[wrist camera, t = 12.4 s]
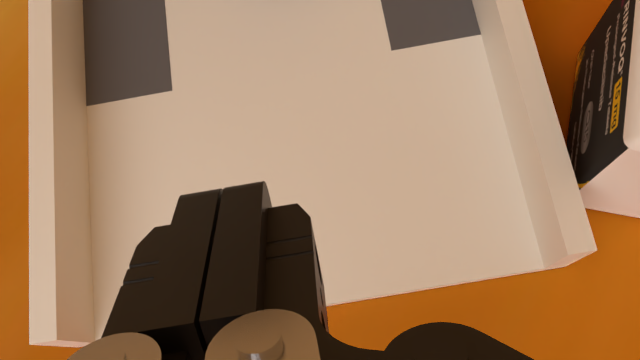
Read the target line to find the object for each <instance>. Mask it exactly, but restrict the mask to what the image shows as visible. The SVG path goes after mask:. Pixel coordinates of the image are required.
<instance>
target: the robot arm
mask: <svg viewBox="0 0 640 360" xmlns="http://www.w3.org/2000/svg"><path fill="white" fill-rule="evenodd" d="M67 360H534V359H532V358H530V357H528V356H526V355H524V354H522V353H520V352H518V351H517V350H515V349H513V348H511V347H509V346H507V345H505V344H503V343H501V342H499V341H497V340H496V339H494V338H492V337H490V336H488V335H486V334H484V333H482V332H480V331H478V330H476V329H474V328H471V327H468V326H465V325H462V324H456V323H447V322H437V323H428V324H423V325H419V326H416V327H413V328H411V329H409V330H407V331H405V332H403V333H401V334H400V335H398V336H397V337H396V338H395V339H393V340H392V341H391V342H390V343H389V345H388V346H387V348H386V349H385V351H378V350H368V349H362V348H357V347H353V346H350V345H347V344H345V343H342V342H340V341H339V340H337V339H335V338H334V337H332V336H331V335H330V334H329V330H328V320H327V310H326V301H325V291H324V283H323V278H322V273H321V268H320V263H319V258H318V253H317V248H316V242H315V237H314V232H313V227H312V222H311V217H310V216H309V215H308V214H307V213H306V212H305V211H304V209H303V208H302V207H301V206H300V205H299V204H298V203H295V204H289V205H283V206H277V207H272V204H271V200H270V195H269V191H268V188H267V185H266V182H265V181H261V182H255V183H249V184H243V185H237V186H231V187H225V188H224V189H221V188H220V189H214V190H208V191H202V192H196V193H190V194H184V195H180V196H179V199H178V202H177V205H176V208H175V211H174V215H173V218H172V221H171V224H170V225H164V226H158V227H154V228H153V229H152V230H151V231H150V232H149V233H148V234H147V235H146V237H145V238H144V239H143V240H142V241H141V242H140V243H139V244H138V245H137V246H136V248H135V251H134V254H133V256H132V259H131V261H130V264H129V269H127V272H126V274H125V277H124V280H123V286H121V287H120V290H119V293H118V295H117V298H116V300H115V303H114V306H113V308H112V311H111V313H110V316H109V319H108V321H107V324H106V326H105V329H104V332H103V334H102V337H101V339H98V340H96V341H94V342H92V343H90V344H88V345H86V346H84V347H83V348H81V349H80V350H78V351H77V352H75V353H74V354H73V355H72V356H70V357H69V358H68V359H67Z"/></svg>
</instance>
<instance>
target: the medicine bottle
mask: <svg viewBox="0 0 640 360" xmlns="http://www.w3.org/2000/svg"><path fill="white" fill-rule="evenodd" d="M567 151H568V154H569V157H570V161H571V164H572V167H573V171H574V174H575V177H576V180H577V184H578V187H579V190H580V194H581V197H582V200H583V204H584V207H585V208H588V209H593V210H598V211H604V212H609V213H614V214H620V215H625V216H630V217H636V218H640V0H613V1H612V2H611V4H610V6H609V7H608V9H607V10H606V12H605V13H604V15H603V16H602V18H601V19H600V21H599V22H598V24H597V25H596V27H595V29H594V30H593V32H592V33H591V35H590V36H589V38H588V39H587V41H586V42H585V44H584V45H583V47H582V48H581V50H580V52H579V54H578V56H577V64H576V72H575V81H574V89H573V97H572V106H571V114H570V122H569V131H568V139H567Z"/></svg>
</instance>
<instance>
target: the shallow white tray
mask: <svg viewBox="0 0 640 360" xmlns="http://www.w3.org/2000/svg"><path fill="white" fill-rule="evenodd" d="M472 3H473V6H474V10H475V14H476V17H477V21H478V25H479V28H480V32H481V35H475V36H470V37H464V38H459V39H453V40H448V41H442V42H437V43H431V44H426V45H420V46H415V47H409V48H404V49H398V50H393V51H391V46H390V41H389V37H388V32H387V27H386V23H385V18H384V13H383V9H382V4H381V0H165V9H166V21H167V33H168V44H169V56H170V68H171V80H172V91H168V92H162V93H157V94H151V95H146V96H140V97H135V98H129V99H124V100H118V101H113V102H107V103H102V104H96V105H91V106H86V82H85V53H84V25H83V0H28V21H29V345H45V346H62V347H83V346H86V345H88V344H90V343H92V342H94V341H96V340H98V339H101V337H102V334H103V332H104V329H105V326H106V324H107V321H108V319H109V316H110V313H111V311H112V308H113V306H114V303H115V300H116V298H117V295H118V293H119V290H120V287H121V286H123V280H124V277H125V274H126V272H127V269H129V264H130V261H131V259H132V256H133V254H134V251H135V248H136V246H137V245H138V244H139V243H140V242H141V241H142V240H143V239H144V238H145V237H146V235H147V234H148V233H149V232H150V231H151V230H152V229H153V228H154V227H158V226H164V225H170V224H171V221H172V218H173V215H174V211H175V208H176V205H177V202H178V199H179V196H180V195H184V194H190V193H196V192H202V191H208V190H214V189H220V188H221V189H224V188H225V187H231V186H237V185H243V184H249V183H255V182H261V181H265V182H266V185H267V188H268V191H269V195H270V200H271V204H272V207H277V206H283V205H289V204H295V203H298V204H299V205H300V206H301V207H302V208H303V209H304V211H305V212H306V213H307V214H308V215H309V216H310V217H311V222H312V227H313V232H314V237H315V242H316V248H317V253H318V258H319V263H320V268H321V273H322V278H323V283H324V291H325V301H326V306H331V305H337V304H343V303H349V302H355V301H361V300H367V299H373V298H379V297H385V296H391V295H397V294H403V293H409V292H415V291H421V290H427V289H433V288H439V287H446V286H452V285H458V284H464V283H470V282H476V281H482V280H488V279H494V278H500V277H506V276H512V275H518V274H524V273H530V272H536V271H542V270H548V269H554V268H560V267H566V266H568V265H570V264H571V263H573V262H575V261H577V260H579V259H581V258H583V257H585V256H587V255H589V254H591V253H593V252H595V251H597V247H596V244H595V240H594V237H593V234H592V230H591V227H590V224H589V220H588V217H587V214H586V210H585V207H584V204H583V200H582V197H581V194H580V190H579V187H578V184H577V180H576V177H575V174H574V171H573V167H572V164H571V161H570V157H569V154H568V151H567V147H566V144H565V141H564V137H563V134H562V131H561V127H560V124H559V121H558V117H557V114H556V111H555V107H554V104H553V101H552V97H551V94H550V91H549V87H548V84H547V81H546V77H545V74H544V71H543V67H542V64H541V61H540V58H539V54H538V51H537V48H536V44H535V41H534V38H533V34H532V31H531V28H530V24H529V21H528V18H527V14H526V11H525V8H524V4H523V1H522V0H472Z"/></svg>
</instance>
